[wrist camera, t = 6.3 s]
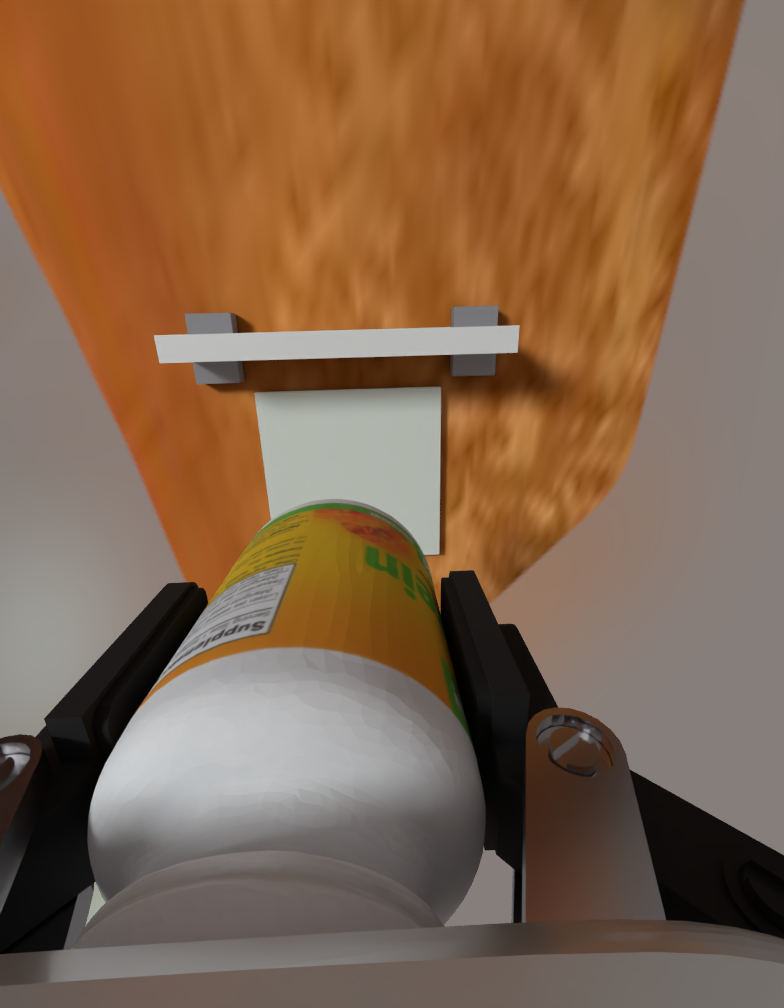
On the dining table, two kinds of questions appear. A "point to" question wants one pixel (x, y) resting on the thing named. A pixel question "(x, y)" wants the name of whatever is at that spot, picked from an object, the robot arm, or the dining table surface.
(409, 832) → the supplement bottle
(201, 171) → the dining table surface
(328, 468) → the mat
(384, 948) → the robot arm
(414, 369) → the dining table surface
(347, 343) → the low wall
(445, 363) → the dining table surface
